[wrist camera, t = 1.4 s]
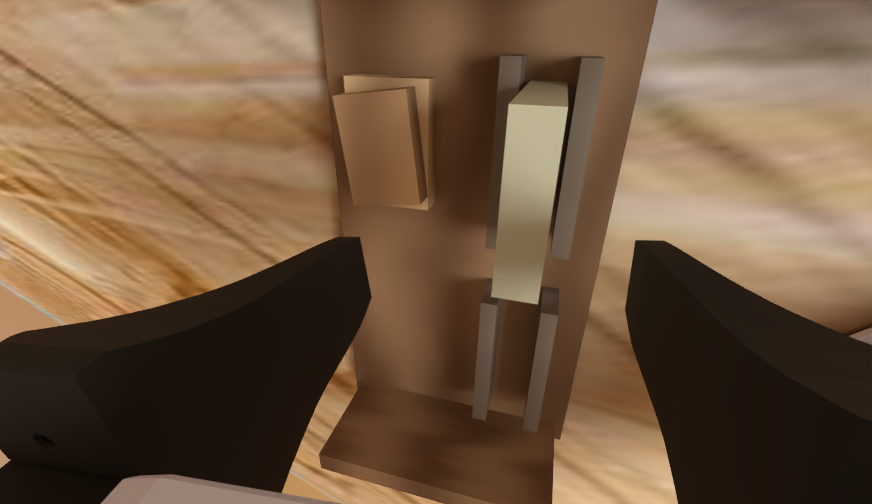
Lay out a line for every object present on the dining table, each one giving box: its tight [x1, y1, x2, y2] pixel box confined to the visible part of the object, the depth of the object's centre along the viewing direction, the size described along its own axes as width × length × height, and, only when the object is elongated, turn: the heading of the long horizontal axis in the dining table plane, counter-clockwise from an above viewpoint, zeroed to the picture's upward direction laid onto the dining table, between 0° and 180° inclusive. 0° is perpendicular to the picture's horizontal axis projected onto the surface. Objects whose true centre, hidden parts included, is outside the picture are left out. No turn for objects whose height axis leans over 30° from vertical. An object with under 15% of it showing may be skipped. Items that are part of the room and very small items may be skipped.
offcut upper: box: [332, 86, 428, 205], centre depth 19 cm, size 3×5×1 cm
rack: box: [319, 0, 658, 504], centre depth 20 cm, size 14×26×7 cm, turn 179°
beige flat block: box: [491, 80, 568, 304], centre depth 15 cm, size 2×6×8 cm, turn 179°
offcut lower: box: [344, 74, 436, 210], centre depth 20 cm, size 4×6×1 cm, turn 179°
